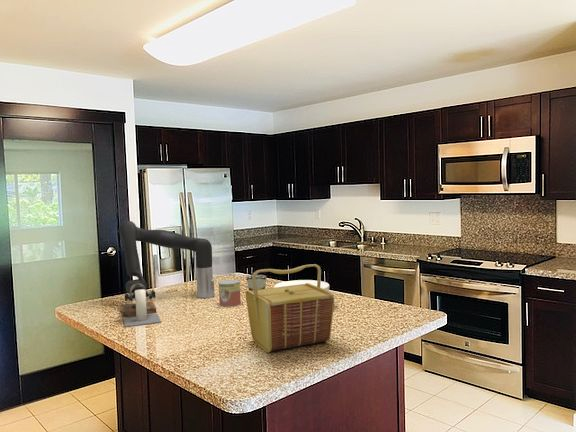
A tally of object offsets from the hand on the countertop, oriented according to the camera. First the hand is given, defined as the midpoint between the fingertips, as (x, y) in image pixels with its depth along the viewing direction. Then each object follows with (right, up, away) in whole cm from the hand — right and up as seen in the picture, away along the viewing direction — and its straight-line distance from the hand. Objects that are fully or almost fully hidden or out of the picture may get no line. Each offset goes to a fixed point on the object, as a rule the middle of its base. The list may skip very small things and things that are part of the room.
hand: (141, 298), depth 224 cm
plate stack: (+77, -8, +17) cm, 79 cm away
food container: (+52, -6, +55) cm, 76 cm away
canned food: (+38, -8, +29) cm, 49 cm away
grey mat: (0, -11, +2) cm, 11 cm away
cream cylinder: (0, -10, +2) cm, 10 cm away
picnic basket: (+70, -11, -37) cm, 80 cm away
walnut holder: (-8, -10, +20) cm, 24 cm away
